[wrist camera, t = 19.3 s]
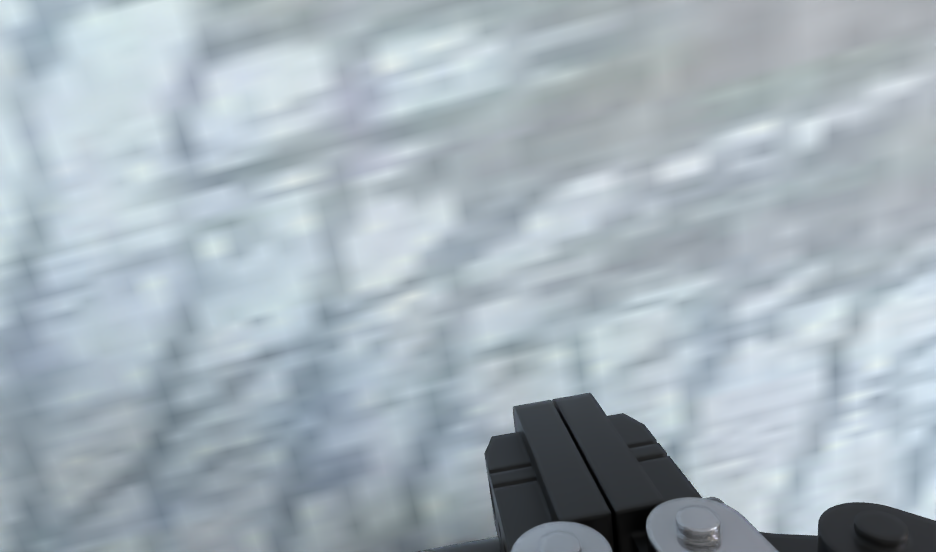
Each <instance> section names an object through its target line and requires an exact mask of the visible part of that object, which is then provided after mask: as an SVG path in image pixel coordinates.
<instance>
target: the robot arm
mask: <svg viewBox="0 0 936 552" xmlns="http://www.w3.org/2000/svg"><path fill="white" fill-rule="evenodd" d="M513 416H514V424H515V432H516V433H510V434H505V435H499V436H493V437H492V438H491V440H490V442H489V445H488V447H487V449H486V451H485V460H486V467H487V473H488V480H489V487H490V494H491V501H492V508H493V514H494V521H495V526H496V531H497V535H498V539H499V543H500V548H501V552H936V521H934V520H931V519H928V518H924V517H921V516H918V515H915V514H912V513H908V512H905V511H902V510H899V509H895V508H892V507H888V506H884V505H879V504H873V503H859V502H853V503H844V504H840V505H836V506H834V507H831V508H829V509H828V510H826V511H825V512H824V513H823V514H822V515H821V517H820V519H819V522H818V536H812V535H789V534H772V533H763V532H759V531H758V530H757V529H756V528H755V527H754V526H753V525H752V524H751V523H750V522H749V521H748V520H747V519H746V518H745V517H744V516H742V515H741V514H740V513H739V512H738V511H736V510H734V509H733V508H731V507H729V506H727V505H725V504H723V503H720V502H717V501H714V500H710V499H705V498H702V497H701V496H700V494H699V493H698V492H697V491H696V489H695V488H694V487H693V486H692V484H691V483H690V482H689V480H688V479H687V478H686V477H685V475H684V474H683V473H682V472H681V470H680V469H679V468H678V467H677V465H676V464H675V463H674V462H673V460H672V459H671V458H670V457H669V456H667V453H666V451H665V450H664V449H663V448H662V446H661V445H660V444H659V443H657V441H656V439H655V438H654V436H653V435H652V434H651V433H650V431H649V430H648V429H647V428H646V426H645V425H644V424H642V423H640V422H638V421H637V420H635V419H633V418H631V417H629V416H627V415H625V414H623V413H622V414H616V415H611V416H606V414H605V413H604V411H603V410H602V408H601V407H600V405H599V404H598V402H597V401H596V400H595V398H594V397H593V395H592V394H591V393H586V394H581V395H575V396H569V397H564V398H558V399H553V400H552V401H551V400H547V401H542V402H536V403H530V404H524V405H519V406H514V407H513Z"/></svg>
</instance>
